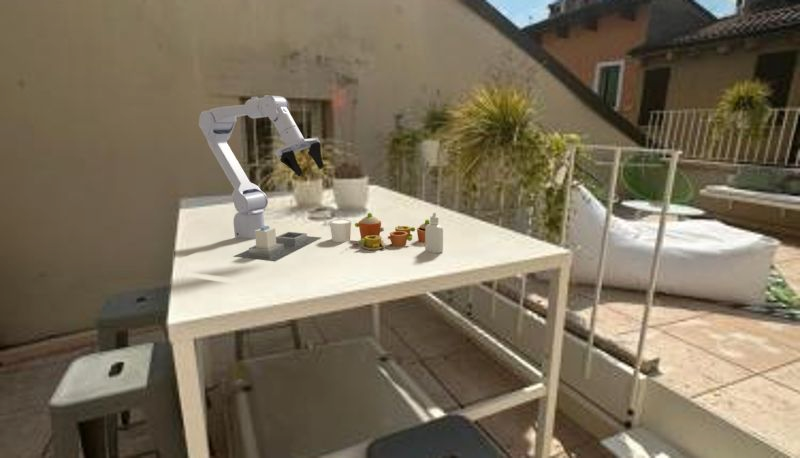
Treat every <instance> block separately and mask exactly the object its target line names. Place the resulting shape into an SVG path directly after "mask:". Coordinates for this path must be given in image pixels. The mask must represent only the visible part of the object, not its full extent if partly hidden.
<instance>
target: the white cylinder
mask: <svg viewBox="0 0 800 458" xmlns="http://www.w3.org/2000/svg"><path fill="white" fill-rule="evenodd" d="M329 226H330V233H331V240H332V241H333V242H337V243H343V242H345V243H346V242H349V241H351V235H352V234H351V233H352V221H351V220H349V219H333V220H331V221H330V222H329Z"/></svg>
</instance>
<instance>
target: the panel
mask: <svg viewBox="0 0 800 458" xmlns="http://www.w3.org/2000/svg"><path fill="white" fill-rule="evenodd" d="M321 239H322V237H319V236H308V233H305V232H295V231H287V232H285V233H282V234H279V235H278V236H276V246H275V247H273V248H271V249H269V250H268V249H259V248H256V244H255V245H254V246H251V247H248V249H247V250H245V251H242V252H241V253H238V254H236V255H232V256H233V257H234V258H242V259H251V260H260V261H267V262H276V261H279V260H281V259H282V258H285V257H287V256H288V255H291V254H293V253H295V252H297V251H299V250H300V249H303V248H304V247H307V246H309V245H311V244H312V243H315V242H317V241H318V240H321Z"/></svg>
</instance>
